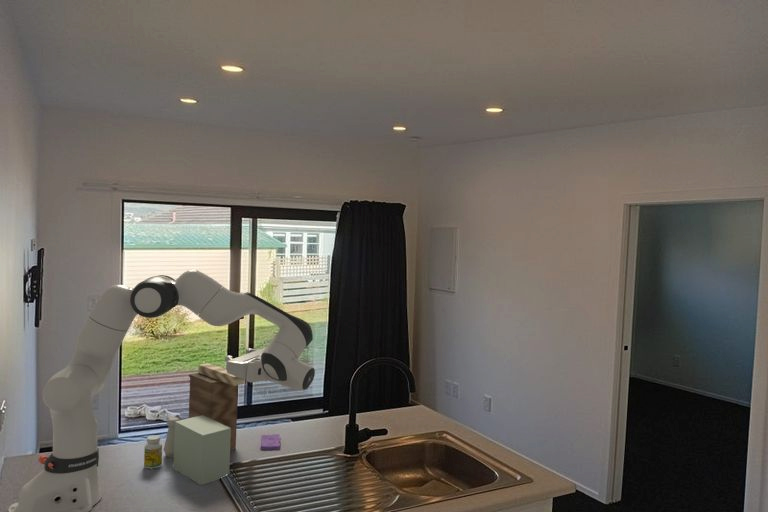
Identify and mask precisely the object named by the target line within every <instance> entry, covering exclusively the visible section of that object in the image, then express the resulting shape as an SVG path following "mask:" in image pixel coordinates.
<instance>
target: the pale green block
mask: <svg viewBox="0 0 768 512" xmlns="http://www.w3.org/2000/svg"><path fill="white" fill-rule="evenodd" d="M230 440H231V428H230V427H228V426H225V425H223V424H221V423H219V422H216V421H214V420H212V419H210V418H208V417H205V416H203V415H201V416H197V417H193V418H189V417H188V418H185V419H180V420H179V421H175V435H174V457H173V466H172V467H173V469H174V470H176V471H177V472H178V473H180V474H182V475H183V476H185V477H187V478H188V479H190V480H192V481H194V482H195V483H197V484H198V485H199V486H202V485H205V484H209V483H211V482H214V481H218V480H220V478H221V477H223V476H225V475H226V474H229V475H230V461H231V460H230V459H231V450H230ZM221 479H222V478H221Z"/></svg>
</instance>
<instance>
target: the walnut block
mask: <svg viewBox="0 0 768 512" xmlns="http://www.w3.org/2000/svg"><path fill="white" fill-rule="evenodd" d="M188 377H189V395H188V396H189V398H188V399H189V400H188V404H189V405H188V418H193V417H197V416H201V415H203V416H205V417H208V418H210V419H212V420H214V421H216V422H219V423H221V424H223V425H225V426H228V427H230V428H231V440H230V451H232V450H235V449H236V448H237V428H238V427H237V425H238V424H237V422H238V401H239V400H238V399H239V397H238V396H239V395H238V394H239V385H236V386H233V385H230V384H228V383H225V382H222V381H219V380H217V379H214V378H211V377H208V376H206V375H203V374H200V373H198V372H195V373H189V374H188Z"/></svg>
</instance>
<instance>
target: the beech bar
mask: <svg viewBox="0 0 768 512" xmlns="http://www.w3.org/2000/svg"><path fill="white" fill-rule="evenodd" d="M197 367H198V369H197V370H198V372H197V373H200V374H203V375H206V376H208V377H211V378H214V379H217V380H219V381H222V382H225V383H228V384H230V385H233V386H236V385H238V386H240V385H245V379H243V378H239V377H236V376H234V375H231V374H229V373H228V372H227V370H226V368H224V367H221V366H217V365H214V364H212V363H202V364H201V363H200V364H198V366H197Z"/></svg>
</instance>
